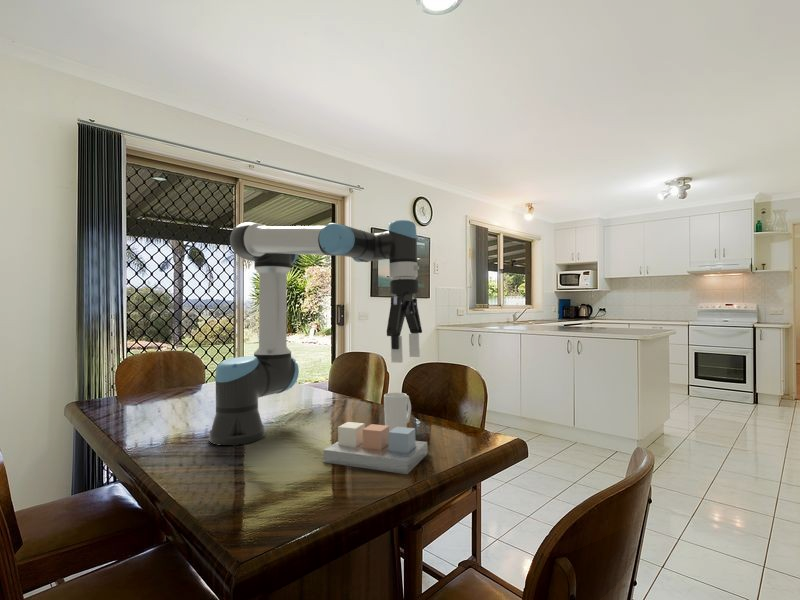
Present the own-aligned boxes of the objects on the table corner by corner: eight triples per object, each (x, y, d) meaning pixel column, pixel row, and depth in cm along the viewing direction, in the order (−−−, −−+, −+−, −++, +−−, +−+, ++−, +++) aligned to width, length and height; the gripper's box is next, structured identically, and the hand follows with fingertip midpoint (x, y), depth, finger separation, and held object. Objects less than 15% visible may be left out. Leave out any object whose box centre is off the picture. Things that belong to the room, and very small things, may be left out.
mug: (396, 441, 115) (395, 398, 115) (379, 436, 119) (379, 395, 120) (419, 432, 122) (418, 392, 122) (403, 428, 127) (402, 390, 127)
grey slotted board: (323, 462, 99) (323, 449, 99) (351, 444, 112) (351, 433, 112) (407, 474, 91) (407, 460, 91) (427, 453, 104) (427, 441, 104)
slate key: (388, 453, 97) (388, 432, 98) (396, 446, 102) (396, 426, 102) (408, 455, 96) (407, 434, 96) (415, 448, 100) (415, 428, 100)
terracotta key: (362, 449, 100) (362, 429, 100) (371, 443, 105) (371, 424, 105) (381, 452, 98) (380, 431, 98) (389, 445, 103) (389, 425, 103)
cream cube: (338, 446, 103) (337, 426, 103) (348, 440, 107) (347, 421, 108) (355, 448, 101) (355, 428, 101) (365, 442, 106) (364, 423, 106)
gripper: (400, 274, 96) (403, 365, 95) (430, 281, 119) (433, 354, 118) (371, 276, 98) (373, 364, 97) (406, 283, 122) (408, 354, 121)
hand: (406, 359), depth 108 cm, fingers open, 13 cm apart
